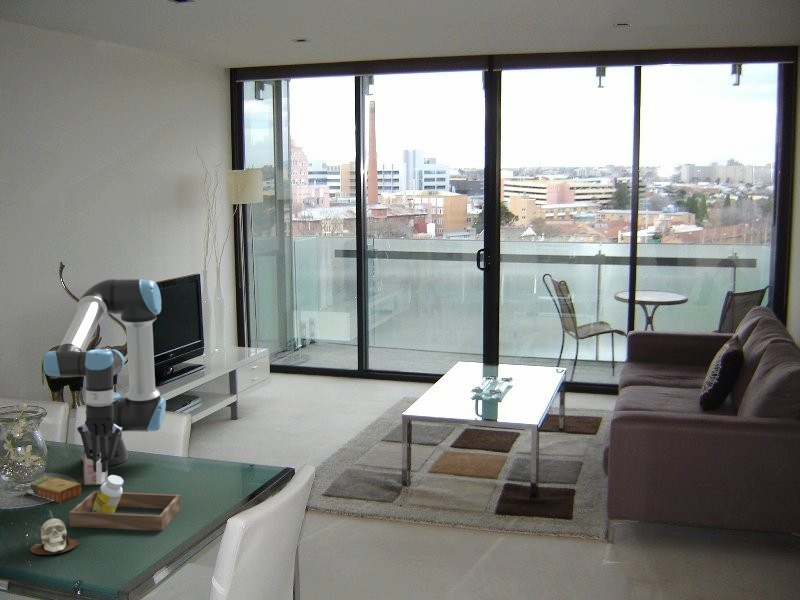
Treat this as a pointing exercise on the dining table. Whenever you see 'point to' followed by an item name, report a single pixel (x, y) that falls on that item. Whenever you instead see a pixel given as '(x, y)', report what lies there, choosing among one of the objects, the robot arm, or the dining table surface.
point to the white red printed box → (91, 472)
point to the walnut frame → (127, 521)
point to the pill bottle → (109, 495)
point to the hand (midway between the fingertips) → (100, 482)
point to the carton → (56, 488)
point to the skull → (54, 538)
